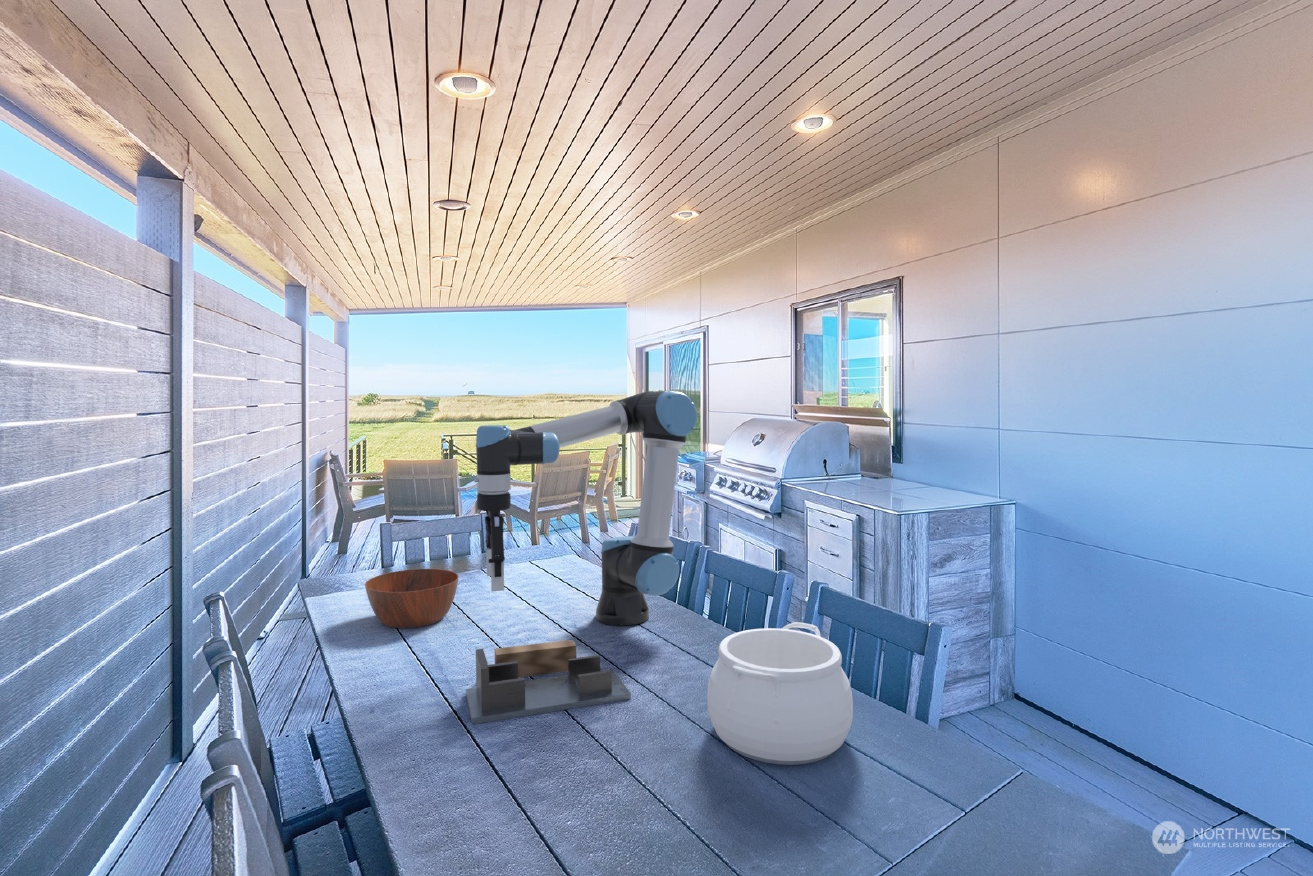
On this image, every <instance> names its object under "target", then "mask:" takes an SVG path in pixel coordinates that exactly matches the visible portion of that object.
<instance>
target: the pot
mask: <svg viewBox="0 0 1313 876" xmlns="http://www.w3.org/2000/svg"><path fill="white" fill-rule="evenodd" d="M791 628H793V629H791ZM795 628H798V629H799V628H800V629H806V630H809V631H811V632H814V633H815V634H813V633H810V632H806V631H802V630H795ZM820 631H821V630H820V629H819V627H818V626H816V625H814V624H811V623H806V622H796V621H795V622H794V621H792V623H789V624H786V625H784V626H783V627H782V628H774V627H773V628H771V627H769V628H768V627H767V628H754V629H747V630H742V631H738V632H734V633H732V634H730V635H728V636H726V637H725V638H724V639H722V640H721V642H720V644H719V646H718V659H717V660H716V662H715V664H714V665H713V667H712V669H711V672H710V675H709V680H708V683H707V692H706V693H707V699H706V700H707V711H708V716H709V718H710V722H711V724H712V726H713V727H714V728H713V729H714V730H715V733H716V735H717V736H718V737H719V738H720V739H721V740H722V741H723V742H724V743H725V745H726V746H727V747H729V748H730V749H731V750H732V751H734V752H735V753H738V754H739V755H742V756H744V757H746V758H749V759H752V760H755V761H758V762H762V763H766V764H767V763H768V764H772V765H773V764H774V765H785V766H786V765H788V766H792V765H793V766H794V765H795V766H796V765H805V764H810V763H816V762H818V761H820V760H824V759H826V758H827V757H830V756H831V755H833V754H834V753H835V752H836V751H837V750H838V749H839V748H840V747H841V746H842V745H843V744H844V743H845V741H846V739H847V736H848V734H849V733H850V729H851V726H852V723H853V716H854V702H853V701H854V700H853V691H852V687H851V683H850V680H849V678H848V676H847V674H846V672H845V670H844V669H843V668H842V663H843V659H842V656H843V655H842V653H841V651H840V648H839V647H838V646H837V645H835V643H833V642H832V641H830V640H829V639H827V638H824V637H822V636H821V632H820Z"/></svg>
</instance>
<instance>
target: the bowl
mask: <svg viewBox="0 0 1313 876" xmlns="http://www.w3.org/2000/svg"><path fill="white" fill-rule="evenodd" d="M459 578H460V577H459V573H456V572H455V571H452V570H448V569H440V568H413V569H405V570H397V571H392V572H391V571H390V572H387V573H384V574H383V573H382V574H379V575H377V576H374V577H371V578H370V579H368V580H367V581H366V582H365V583H364V588H365V592H366V596H367V599H368V601H369V604H370V607H371V609H372V611H373V613H374V614H375V617H376V618H377V619H378V621H379V622H380V623H381V624H383V625H385V626H386V627H389V628H393V629H394V628H395V629H412V628H413V629H414V628H421V627H425V626H429V625H432V624H435V623H437V622H439V621H441V620H442V619H443V618H445V616H447V614H448V612H449V611H450V609H451V608H452V605H453V603H454V600H455V596H456V593H457V588H458V582H459Z"/></svg>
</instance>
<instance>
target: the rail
mask: <svg viewBox="0 0 1313 876" xmlns="http://www.w3.org/2000/svg"><path fill="white" fill-rule="evenodd" d="M572 658H577V645H576V643H575V641H574V639H568V640H558V641H549V642H541V643H532V644H524V645H523V644H522V645H516V646H507V647H505V646H504V647H500V648H496V647H495V648H494V664H498V663H506V662H513V661H517V662H518V678H525V677H536V676H542V675H549V674H559V673H567V672H568V659H572Z"/></svg>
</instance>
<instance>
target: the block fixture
mask: <svg viewBox="0 0 1313 876" xmlns="http://www.w3.org/2000/svg"><path fill="white" fill-rule="evenodd" d="M567 672H568V673H567V674H563V675H562V674H561V675H555V676H549V677H542V678H535V679H528V680H526V679H525V677H520V678H518V662H517V661H513V662H506V663H498V664H495V663H492V664H491V663H490V664H488V661H487V657H486V653H485V649H484V648H477V649H475V678H476V679H475V681H476V683H475V684H476V685H475V686H476V687H473V688H466V689H465V696H466V697H465V698H466V701H467V707H468V712H469V716H470V722H471V725H477V724H485V723H490V722H496V721H503V720H507V719H514V718H520V717H527V716H533V715H534V716H535V715H539V714H546V713H551V712H552V713H553V712H559V711H564V710H571V709H576V708H583V707H589V706H594V705H595V706H596V705H601V704H607V703H614V702H621V701H627V700H631V699H632V697H631V696H632V694H631V692H630V690H629V689H628V687H627V686H626V685H625V684H624V682H623V681H622V679H620V677H619V675H618V674H617V673H616V671H614V669H613V668H612V667H611V668H604V669H602V668H601V655H600V654H597V655H596V654H595V655H587V656H581V657H576V658H572V659H568V671H567Z"/></svg>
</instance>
